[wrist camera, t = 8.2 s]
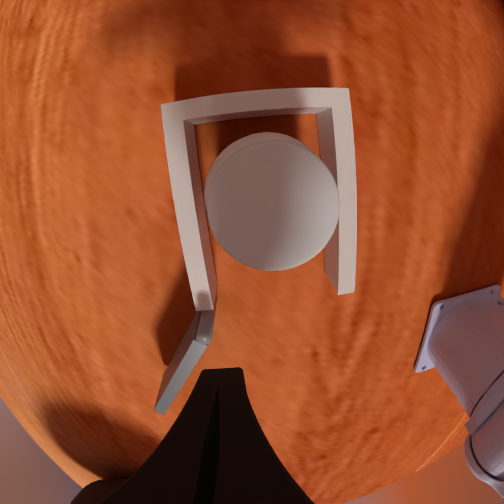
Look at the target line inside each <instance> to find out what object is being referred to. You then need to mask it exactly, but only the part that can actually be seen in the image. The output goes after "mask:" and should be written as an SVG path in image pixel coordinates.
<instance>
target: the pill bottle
mask: <svg viewBox="0 0 504 504" xmlns="http://www.w3.org/2000/svg"><path fill="white" fill-rule="evenodd" d="M204 202H205V208H206V212H207V214H208V220H209V224H210V227H211V230H212V232H213V234H214V236H215V238H216V240H217V241H218V243H219V244H220V246H221V247H222V248H223V249H224V250H225V251H226V252H227V253H228V254H229V255H230V256H231V257H233V258H234V259H235V260H237V261H239V262H240V263H242V264H244V265H246V266H249V267H252V268H255V269H260V270H266V271H279V270H286V269H290V268H294V267H296V266H299V265H301V264H303V263H305V262H307V261H309V260H310V259H311V258H313V257H314V256H316V255H317V254H318V253H319V252H320V251H321V250H322V249H323V248H324V247H325V246H326V244H327V243H328V241H329V240H330V238H331V237H332V235H333V233H334V231H335V228H336V225H337V222H338V218H339V210H340V199H339V192H338V188H337V185H336V182H335V180H334V177H333V176H332V174H331V172H330V170H329V169H328V167H327V166H326V165H325V163H324V162H323V161H322V160H321V159H320V158H319V157H318V156H317V155H316V154H315V153H314V152H313V151H312V150H311V149H310V148H309V147H307V146H306V145H305V144H304V143H302V142H301V141H299V140H297V139H295V138H293V137H290V136H288V135H285V134H281V133H275V132H259V133H255V134H251V135H248V136H245V137H243V138H241V139H238V140H237V141H235V142H233V143H231V144H230V145H229V146H227V147H226V148H225V149H224V150H223V151H222V152H221V153H220V154H219V155H218V156H217V158H216V159H215V161H214V162H213V164H212V166H211V167H210V169H209V172H208V175H207V178H206V182H205V189H204Z"/></svg>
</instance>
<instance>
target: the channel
mask: <svg viewBox="0 0 504 504" xmlns="http://www.w3.org/2000/svg"><path fill="white" fill-rule="evenodd" d="M161 111H162V121H163V129H164V137H165V145H166V153H167V160H168V167H169V174H170V181H171V187H172V193H173V200H174V206H175V211H176V217H177V223H178V228H179V234H180V239H181V244H182V249H183V254H184V259H185V264H186V269H187V274H188V278H189V283H190V287H191V292H192V296H193V301H194V305H195V309H196V311H203V310H213V309H214V303H215V297H216V290H217V280H216V274H215V268H214V262H213V256H212V250H211V244H210V238H209V232H208V225H207V219H206V212H205V206H204V199H203V192H202V185H201V178H200V170H199V163H198V155H197V147H196V139H195V131H194V125H195V124H202V123H208V122H215V121H222V120H230V119H239V118H248V117H259V116H271V115H287V114H312V113H316V116H317V126H318V137H319V148H320V159H321V160H322V161H323V162H324V163H325V165H326V166H327V167H328V169H329V170H330V172H331V174H332V176H333V177H334V180H335V182H336V185H337V188H338V192H339V199H340V210H339V218H338V222H337V225H336V228H335V231H334V233H333V235H332V237H331V238H330V240H329V241H328V243H327V244H326V246H325V247H324V261H325V274H326V276H327V277H328V279H329V281H330V282H331V284H332V286H333V287H334V289H335V291H336V292H337V294H338V295H340V294H347V293H353V292H354V289H355V272H356V245H357V193H356V166H355V149H354V135H353V124H352V114H351V104H350V96H349V88H282V89H265V90H252V91H242V92H233V93H225V94H217V95H210V96H204V97H197V98H192V99H186V100H181V101H176V102H171V103H166V104H161Z"/></svg>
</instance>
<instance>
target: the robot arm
mask: <svg viewBox="0 0 504 504" xmlns="http://www.w3.org/2000/svg"><path fill="white" fill-rule="evenodd" d="M499 292H500V285H498V284H496V285H493V286H489V287H486V288H483V289H480V290H476V291H473V292H469V293H466V294H462V295H459V296H455V297H451V298H448V299H444V300H440V301H436V302H435V303H433V305H432V307H431V311H430V315H429V319H428V323H427V327H426V331H425V335H424V338H423V342H422V345H421V348H420V352H419V355H418V358H417V361H416V364H415V367H414V370H415V372H416V373H419V372H422V371H425V370H428V369H431V368H433V367H436V369H437V370H438V371H439V373H440V374H441V376H442V377H443V378H444V380H445V381H446V383H447V384H448V386H449V387H450V389H451V390H452V392H453V393H454V395H455V396H456V398H457V399H458V401H459V402H460V404H461V405H462V407H463V408H464V410H465V411H466V413H467V414H468V416H469V418H470V419H469V421H468V422H467V423H466V424H465V427H466V429H467V430H468V432H469V433H468V435H467V437H466V439H465V446H464V448H465V458H466V461H467V464H468V466H469V468H470V470H471V471H472V473H473V474H474V475H475V476H476V477H477V478H478V479H480V480H481V481H484V482H486V483H488V484H489V485H490V486H492V487H493V488H494V489H495V490H496V491H497V492H498V493H499V494H500V496H501V497H502V498H504V298H502V297H501V296H500V295H499ZM441 305H442V306H441ZM98 504H314V503H313V501H312V500H311V499H310V498H309V497H308V496H307V495H306V494H305V493H304V491H303V490H302V489H301V488H300V486H299V485H298V484H297V483H296V482H295V480H294V479H293V478H292V477H291V475H290V474H289V473H288V471H287V470H286V468H285V467H284V466H283V464H282V463H281V461H280V460H279V458H278V457H277V455H276V454H275V452H274V450H273V449H272V447H271V445H270V444H269V442H268V440H267V438H266V436H265V435H264V433H263V431H262V429H261V427H260V425H259V423H258V421H257V418H256V416H255V414H254V411H253V409H252V406H251V404H250V401H249V398H248V395H247V391H246V385H245V379H244V374H243V369H241V368H240V367H237V368H222V369H204V370H203V371H202V372H201V373H200V376H199V378H198V380H197V382H196V385H195V387H194V389H193V391H192V393H191V395H190V396H189V398H188V400H187V402H186V404H185V406H184V407H183V409H182V411H181V413H180V414H179V416H178V418H177V419H176V421H175V422H174V424H173V425H172V427H171V428H170V430H169V431H168V433H167V434H166V436H165V437H164V439H163V440H162V441H161V443H160V444H159V445H158V447H157V448H156V449H155V451H154V452H153V453H152V454H151V455H150V457H149V458H148V459H147V460H146V461H145V462H144V463H143V465H142V466H141V467H140V468H139V469H138V470H137V471H136V472H135V473H134V474H133V475H132V476H131V477H130V478H129V479H128V480H127V481H126V482H125V483H123V484H122V485H121V486H120V487H119V488H117V489H116V490H115V491H114V492H113V493H111V494H110V495H109V496H108V497H107V498H105V499H104V500H102V501H101V502H100V503H98ZM500 504H504V501H503V502H501V503H500Z"/></svg>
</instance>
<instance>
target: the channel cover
mask: <svg viewBox="0 0 504 504" xmlns="http://www.w3.org/2000/svg"><path fill="white" fill-rule="evenodd" d="M216 303H217V295H216V297H215V303H214V309H213V310H203V311H197V312H196V314H195V316H194V318H193V320H192V321H191V323H190V325H189V327H188V329H187V331H186V333H185V335H184V336H183V338H182V340H181V342H180V344H179V346H178V348H177V350H176V351H175V353H174V355H173V357H172V359H171V361H170V363H169V365H168V367H167V369H166V370H165V372H164V375H163V379H162V382H161V386H160V389H159V393H158V396H157V400H156V404H155V408H154V411H156V412H158V413H161V414H163V415H164V414H165V413H166V411H167V410H168V408H169V406H170V405H171V403H172V402H173V400H174V398H175V397H176V395H177V394H178V392H179V390H180V389H181V387H182V386H183V384H184V382H185V381H186V379H187V378H188V376H189V374H190V373H191V371H192V370H193V368H194V366H195V365H196V363H197V362H198V360H199V358H200V357H201V355H202V353H203V352H204V350H205V349H206V347H207V344H209V343H210V342H211V339H212V332H213V325H214V317H215V310H216Z"/></svg>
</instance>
